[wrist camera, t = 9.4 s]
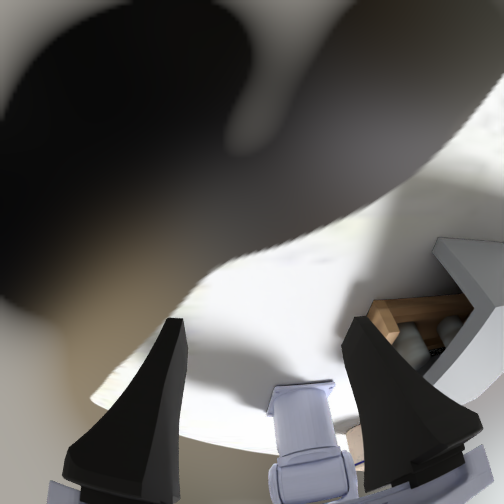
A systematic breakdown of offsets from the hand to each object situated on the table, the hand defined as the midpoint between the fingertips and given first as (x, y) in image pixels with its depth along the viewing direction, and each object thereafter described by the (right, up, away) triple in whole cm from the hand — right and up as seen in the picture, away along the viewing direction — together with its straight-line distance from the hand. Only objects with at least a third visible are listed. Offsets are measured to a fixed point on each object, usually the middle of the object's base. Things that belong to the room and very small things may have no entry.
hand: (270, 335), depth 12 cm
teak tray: (+18, -4, +16) cm, 24 cm away
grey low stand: (+24, -4, +16) cm, 29 cm away
